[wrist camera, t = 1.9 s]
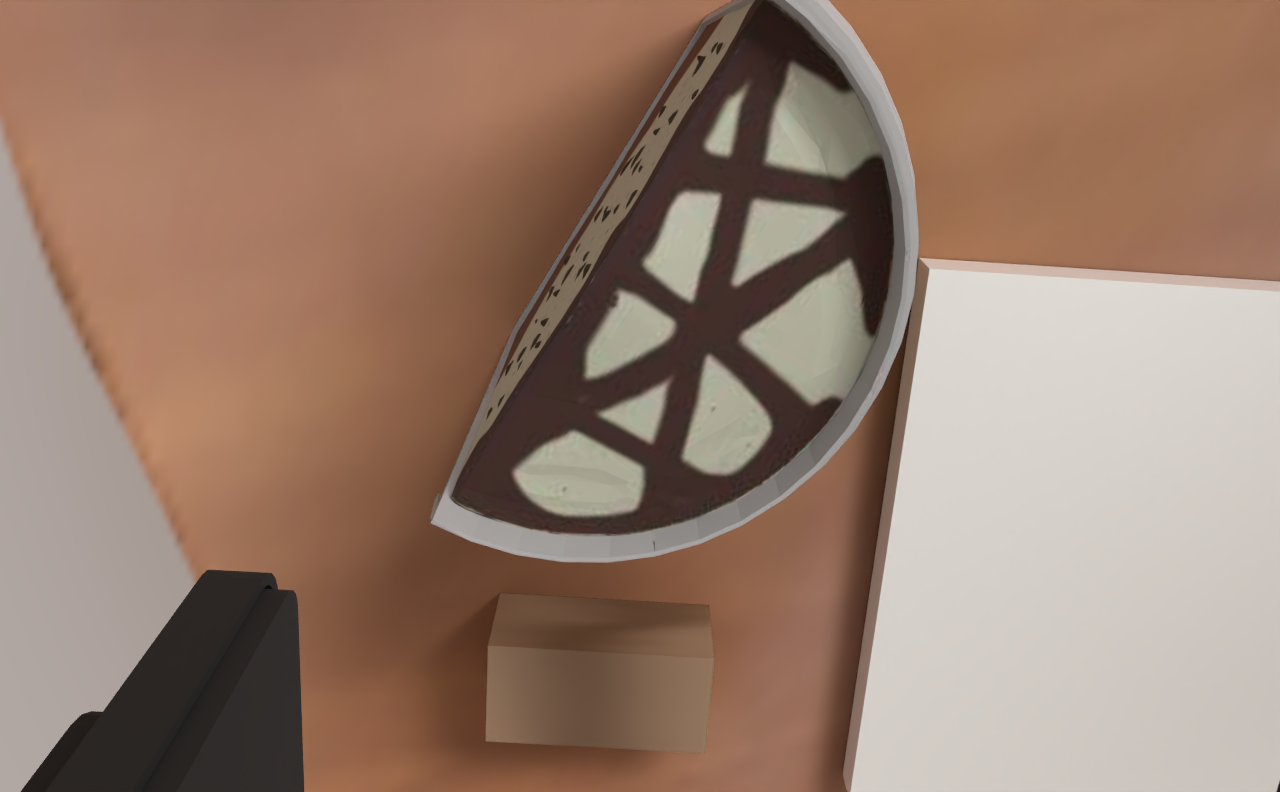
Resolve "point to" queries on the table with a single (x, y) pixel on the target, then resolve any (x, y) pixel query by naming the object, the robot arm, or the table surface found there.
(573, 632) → the walnut block
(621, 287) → the food container
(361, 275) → the table surface
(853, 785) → the platter
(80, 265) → the table surface
